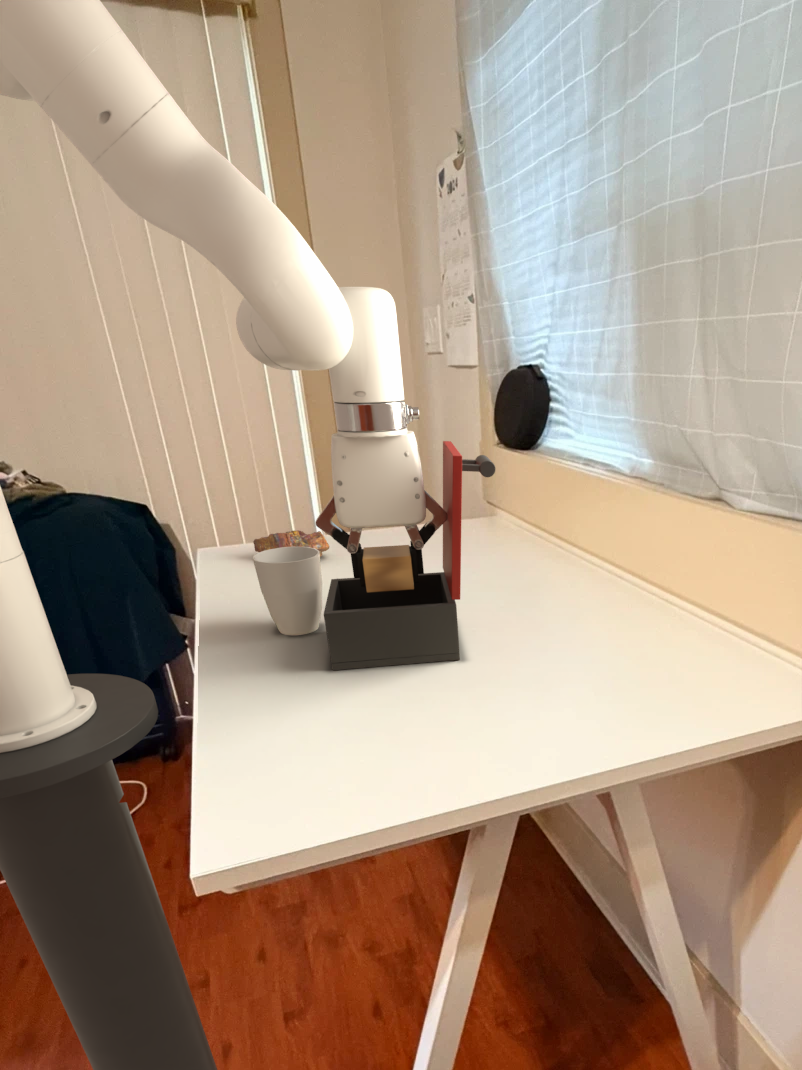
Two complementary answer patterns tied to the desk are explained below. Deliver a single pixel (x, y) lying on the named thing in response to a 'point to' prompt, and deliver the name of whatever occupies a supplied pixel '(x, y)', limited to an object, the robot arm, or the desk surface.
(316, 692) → the desk surface
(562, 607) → the desk surface
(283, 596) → the cup
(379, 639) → the dark tray bin
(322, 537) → the mineral specimen
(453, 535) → the lid
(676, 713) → the desk surface
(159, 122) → the robot arm
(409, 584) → the wooden block
